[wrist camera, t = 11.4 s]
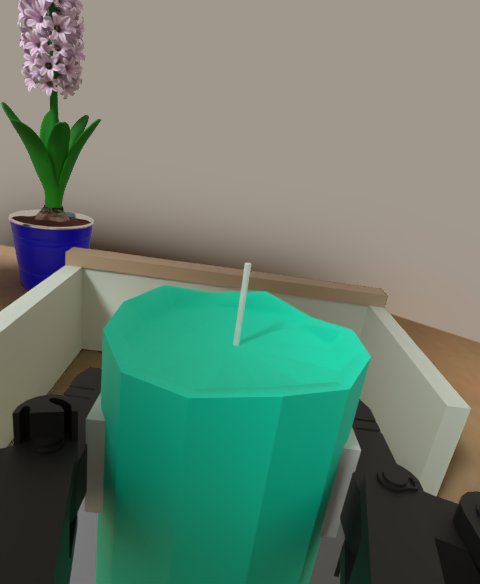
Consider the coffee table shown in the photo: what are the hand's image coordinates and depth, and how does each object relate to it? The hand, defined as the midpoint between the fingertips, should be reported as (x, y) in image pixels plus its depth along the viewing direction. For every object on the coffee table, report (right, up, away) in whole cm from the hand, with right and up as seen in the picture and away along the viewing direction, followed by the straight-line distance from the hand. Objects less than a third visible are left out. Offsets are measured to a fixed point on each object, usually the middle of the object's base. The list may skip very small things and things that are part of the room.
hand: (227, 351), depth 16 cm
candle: (-1, -8, -3) cm, 9 cm away
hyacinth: (-20, +3, +31) cm, 37 cm away
